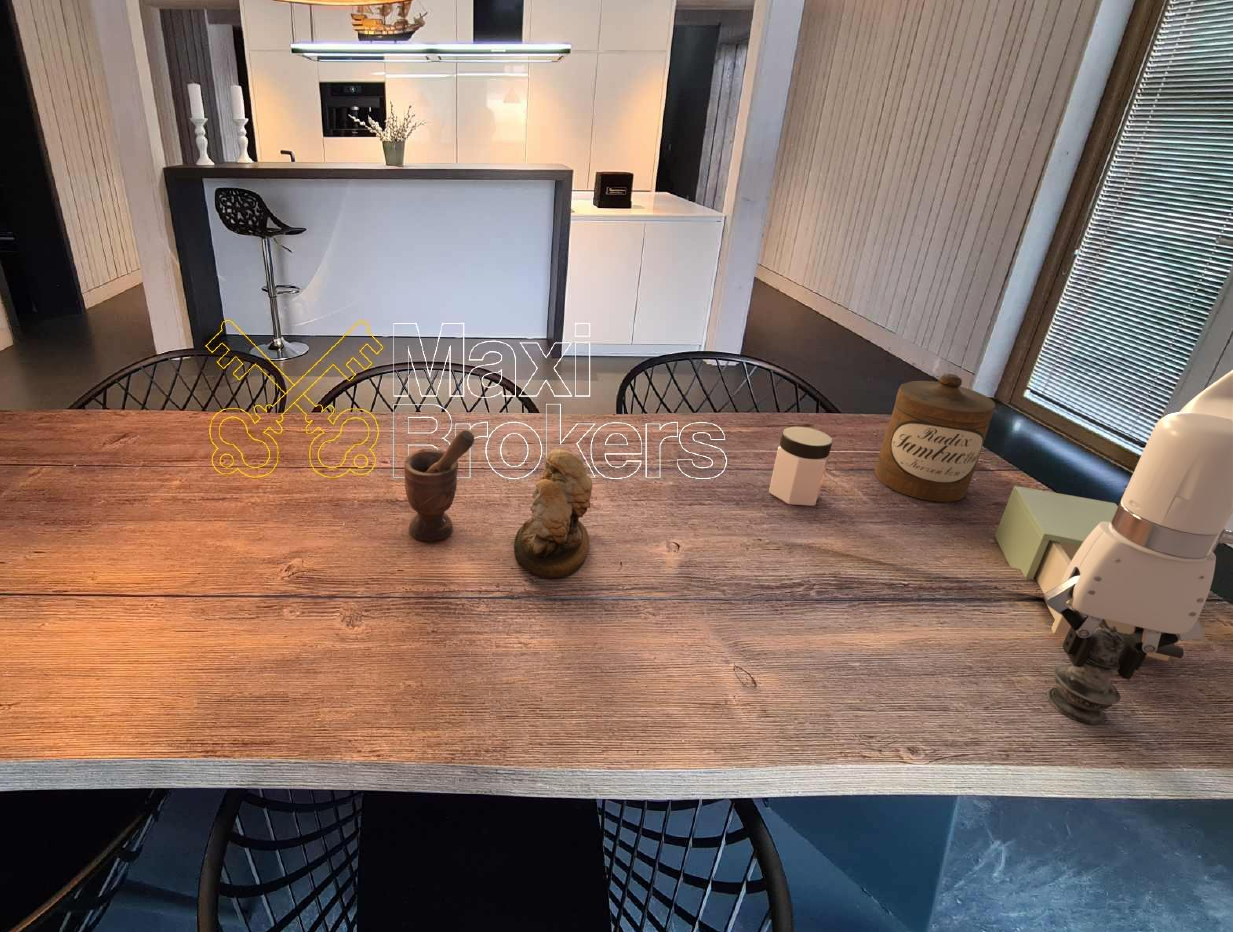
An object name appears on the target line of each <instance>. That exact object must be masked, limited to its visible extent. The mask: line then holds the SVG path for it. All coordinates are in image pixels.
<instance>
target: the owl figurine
mask: <svg viewBox="0 0 1233 932" xmlns="http://www.w3.org/2000/svg"><path fill="white" fill-rule="evenodd" d="M586 469H587V468H586V466H585V465H584V463H583V461H582V460H581V459H580V458H579V457H578V456H577V455H576V454H574V453H573V452H570V451H568V450H566V449H564V448H556V449H552V450H551V451H549V452H548V455H547V456H546V458H545V464H544V469H543V470H542V473H541V474H540V477H539V480H538V481H537V482H536V484H535V486H534V489H533V491H532V499H533V502H531V503H530V505H529V509H530V511H531V518H529V519H527V520H526V521H525V522H524V523H523V524H522V525H521V526H520V528H519V529H518V531H517V532H516V534H515V536H514V537H515V538H514V542H513V552H514V556H515V559H516V561H517V563H518V564H519V566H521V568H523V569H524V570H525V572H527V573H529V574H530V575H532V576H535V577H538V578H541V579H546V580H557V579H564V578H567V577H569V576H571V575H573V574H575V573H576V572H577V571H578V570H579V569H580V568H581V567H582V566H583V565H584V563H585V562H586V559H587V557H588V554H589V548H590V537H589V533H588V530H587V529H586V527H585V525H584V524H583V523H582V522H581V521H580V518H583V517H584V515H585V514H586V513H587V511H588V509H589V508H591V497H592V491H593V480H592V478H591V477H590V476H589V475H588V473H587V470H586Z"/></svg>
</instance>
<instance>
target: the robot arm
mask: <svg viewBox="0 0 1233 932" xmlns="http://www.w3.org/2000/svg"><path fill="white" fill-rule="evenodd" d="M1117 506H1118V508H1117V510H1116V512H1115V514H1114V516H1113V519H1112V521H1111V523H1110V522H1101V523H1099V524H1098V525H1097V526H1096V527H1095V529H1094V530H1093V531H1092V532H1091V533H1090V534H1089V536H1088V537H1087V538H1086V539H1085V541H1084V542H1083V543H1082V545H1081V546H1080V548H1079V549H1078V551H1077V552H1076V554H1075V556H1074V557H1073V559H1072V561H1071V563H1070V564H1069V566H1068V568H1067V570H1066V572H1065V574H1064V576H1063V578H1062V581H1061V584H1060V585H1058V586H1056V587H1055V588H1053V589H1051V590H1050V591H1048V592H1046V593H1045V594H1044V593H1043V594H1042V598H1044V599H1043V601H1044V602H1045V604H1046V606H1047V605H1048V606H1049V607H1051V608H1052V609H1053V610H1055V611H1056V612H1058V613H1060V614H1061V615H1062V616H1064V618H1065V619H1066V621H1067V622H1068V623H1069V624H1070V625H1071V628H1070V630H1069V632H1068V634H1067V636H1066V637H1065V639H1064V641H1063V644H1062V649H1063V652H1064V653H1065V654H1066V655H1067V656H1068V658H1069V660H1070V662H1071V665H1073V666H1076V667H1083V665H1084V663H1085V661H1086V659H1087V657H1088V655H1089V653H1090V651H1091V649H1092V647H1093V645H1094V641H1093V639H1092V637H1091V635H1092V633H1093V632H1094V631H1095V629H1096V628H1097V627H1098V625H1099V624H1100V623H1101V622H1102V620H1103V619H1106V620H1110V621H1114V622H1119V623H1123V624H1128V625H1132V626H1133V627H1132V631H1131V634H1126V633H1125V634H1124V635H1123V636H1122V638H1123V639H1124V641H1125V647H1124V649H1123V651H1122V653H1121V655H1120V657H1119V659H1118V663H1119V665H1120V668H1119V669H1118V670H1116V672H1117V674H1118V675H1119V677H1121V679H1125V680H1127V681H1130V680H1131V679H1132V677H1133V675H1134V673H1135V671H1139V669H1140V668H1141V666H1142V664H1143V662H1144V660H1145V659H1146V657H1147V656H1146V655H1147V653H1150V654H1151V653H1155V652H1156V651H1157V648H1159V647H1163V646H1166V645H1170V644H1173V643H1176V642H1177V643H1178V642H1179V641H1180V642H1187V641H1197V640H1202V639H1204V638H1205V632H1204V630H1203V627H1202V625H1201V621H1200V619H1199V617H1200V615H1201V613H1202V611H1203V609H1204V606H1205V604H1206V601H1207V599H1208V596H1209V594H1210V591H1211V588H1212V584H1213V579H1214V576H1215V575H1214V574H1215V569H1216V561H1217V556H1216V554H1215V553H1214V552H1215V550H1216V548H1217V546H1218V544H1221V545H1222V544H1226V545H1227V544H1228V545H1233V530H1228V529H1225V528H1226V525H1227V524H1228V522H1229V520H1230V518H1231V516H1232V514H1233V369H1232V370H1231V371H1228V373H1226V374H1225V375H1223V376H1222V377H1221V378H1219V379H1217V380H1216V381H1215V382H1213V383H1211V384H1210V385H1209V386H1207V387H1206V388H1205V389H1204V390H1202V391H1201V392H1200V393H1198V394H1197V395H1195V397H1193V398H1192V399H1191V400H1190V401H1188V402H1187V403H1186V404H1185V405H1184V406H1183V407H1182V408H1181V409H1180V410H1179V412H1172V413H1169V414H1166V415H1164V416H1163V417H1161V418H1160V419H1159V420H1158V421H1157V422H1156V424H1155V426H1154V427H1153V429H1152V431H1151V434H1150V435H1149V438H1148V440H1147V442H1146V444H1145V447H1144V449H1143V451H1142V453H1141V456H1140V457H1139V460H1138V462H1137V463H1136V466H1135V469H1134V471H1133V472H1132V475H1131V477H1130V480H1129V482H1128V484H1127V486H1126V488H1125V491H1124V492H1123V495H1122V497H1121V500H1120V501H1119V503H1118V505H1117ZM1072 598H1074V599H1073V604H1072V605H1073V607H1072V606H1071V605H1070V604H1068V603H1066V602H1067V601H1068V600H1070V599H1072ZM1048 606H1047V607H1048Z"/></svg>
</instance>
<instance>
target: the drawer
mask: <svg viewBox="0 0 1233 932" xmlns="http://www.w3.org/2000/svg"><path fill="white" fill-rule="evenodd" d="M1079 548H1080V546H1077V545H1072V544H1067V543H1062V542H1057V541H1052V540H1049V543H1048V545H1047V547H1046V550H1045V552H1044V554H1043V557H1042V559H1041V562H1040V564H1039V566H1038V569H1037V571H1036V573H1035V576H1034V578H1035V580H1036V582H1037V583H1038V585H1039V587H1040V589H1041V591H1042V592H1043V594H1045V593H1046V592H1048V591H1050V590H1051V589H1053V588H1055V587H1056V586H1058V585H1060V584H1061V581H1062V578H1063V576H1064V574H1065V572H1066V570H1067V568H1068V566H1069V564H1070V563H1071V561H1072V559H1073V557H1074V556H1075V554H1076V552H1077V551H1078V549H1079ZM1042 598H1043V597H1042ZM1073 599H1074V598H1072V599H1070V600H1068V601H1067V602H1066V603H1068V604H1070V605H1071V606H1072V607H1073V605H1072V604H1073ZM1043 600H1044V598H1043ZM1046 606H1047V608H1048V610H1049V612H1050V614H1051V615H1052V617H1053V619H1054V621H1053V623H1052V625H1051V628H1050V629H1051V631H1052V633H1053V634H1054V635H1057V636H1061V637H1065V638H1066V636H1067V634H1068V632H1069V630H1070V628H1071V625H1070V624H1069V623H1068V622H1067V621H1066V619H1065V618H1064V616H1062V615H1061V614H1060V613H1058V612H1056V611H1055V610H1053V609H1052V608H1051V607H1049V606H1048V605H1047V604H1046ZM1113 626H1115V628H1116V629H1117V632H1116V633H1117V634H1119V635H1120V636H1121V637H1122V636H1123V635H1124V634H1125V633H1126V634H1131V631H1132V627H1133V626H1132V625H1128V624H1123V623H1119V622H1114V621H1110V620H1106V619H1103V620H1102V622H1101V623H1100V624H1099V625H1098V627H1097V628H1096V629H1100V628H1103V629H1109V627H1113ZM1096 629H1095V630H1096ZM1109 630H1110V629H1109ZM1184 653H1185V651H1184V648H1183V646H1180V645H1178V642H1176V643H1173V644H1170V645H1166V646H1163V647H1159V648H1157V651H1156V652H1155V653H1151V654H1150V653H1147V655H1146V656H1145V657H1149V658H1152V659H1157V660H1161V661H1166V662H1168V660H1169V659H1170V657H1171V658H1176V659H1182V658H1183V657H1184Z"/></svg>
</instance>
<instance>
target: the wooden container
mask: <svg viewBox="0 0 1233 932" xmlns="http://www.w3.org/2000/svg"><path fill="white" fill-rule="evenodd" d="M962 384H963V379H962V378H961V377H959V375H956V374H953V373H946V374H942V375H941V376H939V377H938V381H931V380H914V381H908V382H904V383H902V384H901V385H900V386H899V388H898V390H897V394H896V398H895V403H894V407H893V410H892V413H891V416H890V418H889V423H888V426H887V428H886V432H885V435H884V438H883V440H882V444H881V447H880V450H879V456H878V458H877V460H876V461H877V462H876V465H875V469H874V474H875V477H876V478H877V479H878V480H879V481H880V482H881V483H882V484H884V485H885V486H887V487H889V488H890V489H892V490H894V491H896V492H898V493H900V494H903V495H906V496H909V497H912V498H915V499H920V500H925V501H929V502H937V503H938V502H940V503H948V502H949V503H950V502H956V501H960V500H962V499H963V498H965V496H966V494H967V492H968V489H969V487H970V484H971V481H972V478H973V476H974V473H975V472H976V471H975V470H976V468H977V465H978V463H979V460H980V459H979V458H980V455H981V453H982V449H983V446H984V443H985V439H986V436H987V433H988V430H989V427H990V422H991V421H992V417H993V415H994V412H995V409H996V404H995V401H994V400H992V398H990V397H989V396H987V395H985V394H983V393H981V392H978V391H976V390H973V389H970V388H968V387H964V386H962Z"/></svg>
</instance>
